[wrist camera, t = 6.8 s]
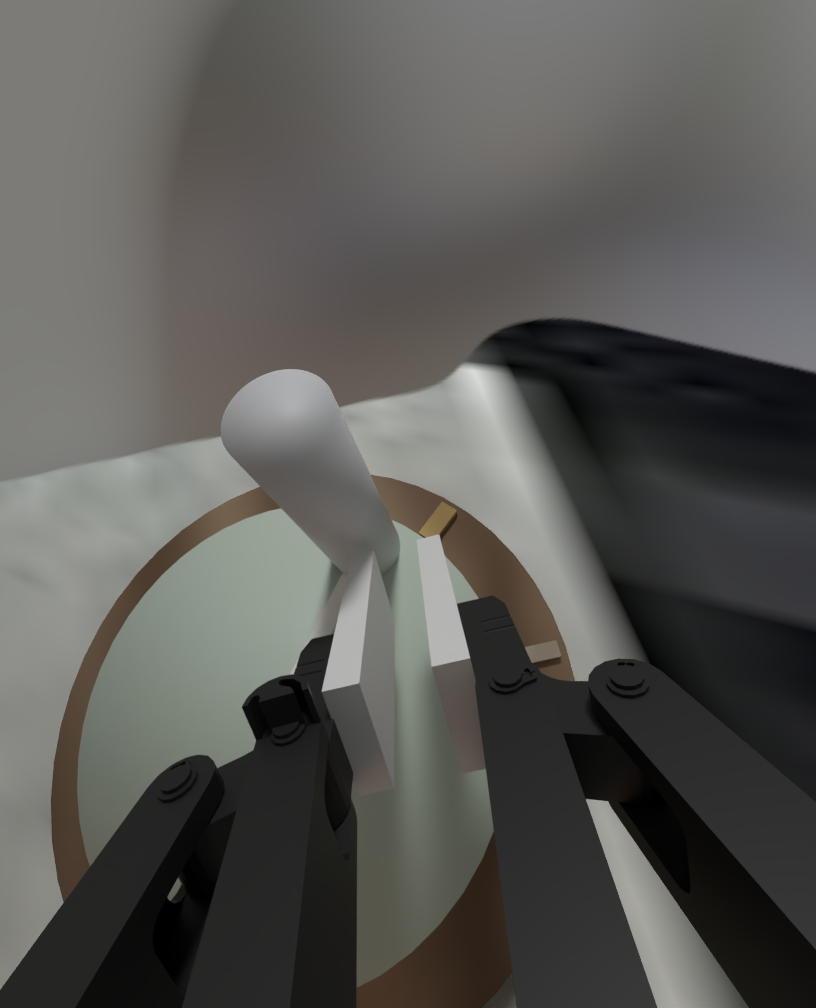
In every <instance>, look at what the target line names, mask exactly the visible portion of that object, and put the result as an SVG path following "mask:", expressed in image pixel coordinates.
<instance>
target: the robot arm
mask: <svg viewBox="0 0 816 1008" xmlns="http://www.w3.org/2000/svg"><path fill="white" fill-rule="evenodd" d="M417 548H418V556H419V565H420V573H421V581H422V590H423V598H424V607H425V615H426V624H427V632H428V641H429V649H430V657H431V666H432V670H433V674H434V677H435V681H436V685H437V688H438V692H439V696H440V699H441V703H442V706H443V710H444V714H445V717H446V721H447V725H448V728H449V732H450V736H451V739H452V743H453V746H454V750H455V754H456V757H457V761H458V765H459V768H460V772H461V774H464V773H469V772H473V771H478V770H483V769H486V775H487V782H488V790H489V798H490V805H491V813H492V821H493V828H494V836H495V843H496V851H497V859H498V866H499V874H500V882H501V889H502V897H503V905H504V912H505V920H506V927H507V935H508V943H509V950H510V958H511V966H512V973H513V981H514V989H515V996H516V1004H517V1008H657V1005H656V1003H655V1000H654V997H653V994H652V991H651V988H650V985H649V982H648V979H647V976H646V973H645V971H644V968H643V965H642V962H641V959H640V956H639V953H638V950H637V947H636V944H635V941H634V939H633V936H632V933H631V930H630V927H629V924H628V921H627V918H626V915H625V912H624V909H623V907H622V904H621V901H620V898H619V895H618V892H617V889H616V886H615V883H614V880H613V877H612V875H611V872H610V869H609V866H608V863H607V860H606V857H605V854H604V851H603V848H602V845H601V843H600V840H599V837H598V834H597V831H596V828H595V825H594V822H593V819H592V816H591V813H590V811H589V808H588V805H587V802H586V799H594V800H603V801H609V804H610V806H611V807H612V809H613V810H614V812H615V813H616V815H617V816H618V818H619V819H620V821H621V822H622V823H623V825H624V826H625V828H626V829H627V831H628V832H629V834H630V835H631V837H632V838H633V839H634V841H635V842H636V844H637V845H638V847H639V848H640V850H641V851H642V853H643V854H644V855H645V857H646V858H647V860H648V861H649V863H650V864H651V866H652V867H653V869H654V870H655V871H656V873H657V874H658V876H659V877H660V879H661V880H662V882H663V883H664V885H665V886H666V887H667V889H668V890H669V892H670V893H671V895H672V896H673V898H674V899H675V901H676V902H677V903H678V905H679V906H680V908H681V909H682V911H683V912H684V914H685V915H686V917H687V918H688V920H689V921H690V922H691V924H692V925H693V927H694V928H695V930H696V931H697V933H698V934H699V936H700V937H701V938H702V940H703V941H704V943H705V944H706V946H707V947H708V949H709V950H710V952H711V953H712V954H713V956H714V957H715V959H716V960H717V962H718V963H719V965H720V966H721V968H722V969H723V970H724V972H725V973H726V975H727V976H728V978H729V979H730V981H731V982H732V984H733V985H734V986H735V988H736V989H737V991H738V992H739V994H740V995H741V997H742V998H743V1000H744V1001H745V1002H746V1004H747V1005H748V1007H749V1008H816V802H815V801H814V800H812V799H811V798H810V797H809V796H808V795H807V794H805V793H804V792H803V791H802V790H801V789H799V788H798V787H797V786H796V785H795V784H794V783H792V782H791V781H790V780H789V779H788V778H786V777H785V776H784V775H783V774H782V773H781V772H779V771H778V770H777V769H776V768H775V767H774V766H772V765H771V764H770V763H769V762H768V761H766V760H765V759H764V758H763V757H762V756H761V755H759V754H758V753H757V752H756V751H755V750H754V749H752V748H751V747H750V746H749V745H748V744H746V743H745V742H744V741H743V740H742V739H741V738H739V737H738V736H737V735H736V734H735V733H734V732H732V731H731V730H730V729H729V728H728V727H726V726H725V725H724V724H723V723H722V722H721V721H719V720H718V719H717V718H716V717H715V716H713V715H712V714H711V713H710V712H709V711H708V710H706V709H705V708H704V707H703V706H702V705H701V704H699V703H698V702H697V701H696V700H695V699H693V698H692V697H691V696H690V695H689V694H688V693H686V692H685V691H684V690H683V689H682V688H681V687H679V686H678V685H677V684H676V683H675V682H673V681H672V680H671V679H670V678H669V677H668V676H666V675H665V674H664V673H663V672H662V671H660V670H659V669H657V668H655V667H654V666H652V665H650V664H649V663H645V662H642V661H638V660H635V659H615V660H610V661H605V662H604V663H602V664H600V665H598V666H596V667H595V668H594V669H593V671H592V672H591V673H590V675H589V680H588V681H564V680H558V679H554V678H551V677H548V676H546V675H544V674H542V673H541V672H540V670H539V669H538V667H536V666H534V665H533V664H532V662H531V660H530V658H529V656H528V653H527V651H526V649H525V647H524V645H523V642H522V640H521V638H520V636H519V633H518V631H517V629H516V627H515V625H514V622H513V620H512V618H511V616H510V613H509V611H508V609H507V607H506V604H505V603H504V602H502V601H501V600H499V599H498V598H496V597H495V596H493V595H492V596H488V597H483V598H479V599H475V600H471V601H466V602H462V603H458V604H457V603H456V599H455V595H454V591H453V587H452V583H451V579H450V575H449V571H448V567H447V563H446V559H445V555H444V551H443V548H442V544H441V540H440V536H439V534H438V535H434V536H430V537H426V538H422V539H418V540H417ZM242 709H243V711H244V714H245V716H246V718H247V721H248V723H249V725H250V727H251V730H252V732H253V734H254V737H255V739H256V742H255V746H254V750H253V751H251V752H249V753H247V754H245V755H244V756H242V757H240V758H238V759H236V760H233V761H231V762H229V763H227V764H225V765H223V766H221V767H219V768H217V767H216V765H215V762H214V761H213V760H212V759H211V758H210V757H209V756H207V755H194V756H190V757H186V758H184V759H182V760H180V761H178V762H176V763H174V764H172V765H171V766H170V767H168V768H167V769H166V770H164V771H163V772H162V773H160V774H159V775H158V776H157V777H156V779H155V780H154V781H153V782H152V783H151V784H150V785H149V786H148V788H147V789H146V790H145V792H144V793H143V794H142V796H141V797H140V799H139V800H138V801H137V803H136V804H135V805H134V807H133V808H132V810H131V811H130V812H129V814H128V815H127V816H126V818H125V819H124V821H123V822H122V823H121V825H120V826H119V828H118V829H117V830H116V832H115V833H114V834H113V836H112V837H111V839H110V840H109V841H108V843H107V844H106V845H105V847H104V848H103V850H102V851H101V852H100V854H99V855H98V856H97V858H96V859H95V861H94V862H93V863H92V865H91V866H90V867H89V869H88V870H87V872H86V873H85V874H84V876H83V877H82V878H81V880H80V881H79V883H78V884H77V885H76V887H75V888H74V889H73V891H72V892H71V894H70V895H69V896H68V898H67V899H66V900H65V902H64V903H63V905H62V906H61V907H60V909H59V910H58V911H57V913H56V914H55V916H54V917H53V918H52V920H51V921H50V922H49V924H48V925H47V927H46V928H45V929H44V931H43V932H42V933H41V935H40V936H39V938H38V939H37V940H36V942H35V943H34V944H33V946H32V947H31V949H30V950H29V951H28V953H27V954H26V955H25V957H24V958H23V960H22V961H21V962H20V964H19V965H18V966H17V968H16V969H15V971H14V972H13V973H12V975H11V976H10V977H9V979H8V980H7V982H6V983H5V984H4V986H3V987H2V988H1V990H0V1008H356V992H357V815H356V810H355V807H354V804H353V802H352V799H351V792H352V782H353V779H354V782H355V784H356V787H357V790H358V793H359V795H360V796H362V795H366V794H371V793H376V792H380V791H385V790H390V789H394V749H395V620H394V617H393V614H392V610H391V607H390V603H389V600H388V597H387V593H386V590H385V586H384V583H383V579H382V576H381V573H380V569H379V566H378V562H377V559H376V556H375V552H374V550H372V551H368V552H364V553H359V554H355V555H352V556H351V560H350V565H349V569H348V574H347V578H346V583H345V587H344V592H343V596H342V601H341V606H340V610H339V615H338V619H337V624H336V628H335V633H334V634H331V635H326V636H322V637H318V638H314V639H311V640H310V642H309V643H308V644H307V645H306V646H305V648H304V649H303V650H302V651H301V653H300V656H299V659H298V662H297V668H296V669H295V672H294V675H293V674H291V675H284V676H279V677H277V678H274V679H272V680H269V681H267V682H266V683H264V684H263V685H261V686H259V687H258V688H256V689H255V690H254V691H253V692H252V693H251V694H250V695H249V696H248V697H247V699H246V700H245V702H244V704H243V705H242ZM177 878H179V880H180V882H181V886H180V888H179V890H178V892H177V893H176V895H175V896H174V897H173V898H172V900H171V901H170V900H169V899H168V895H169V893H170V891H171V889H172V888H173V886H174V884H175V882H176V880H177Z"/></svg>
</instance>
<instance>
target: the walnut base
mask: <svg viewBox="0 0 816 1008" xmlns="http://www.w3.org/2000/svg"><path fill="white" fill-rule="evenodd" d="M371 477H372V479H373V481H374V484H375V486H376V488H377V490H378V492H379V494H380V496H381V499H382V501H383V503H384V505H385V507H386V509H387V511H388V513H389V516H390V518H391V520H393V521H395V522H397V523H400V524H402V525H404V526H406V527H407V528H409V529H410V530H412V531H414V532H415V533H417V534H418V535H420V536H422V537H423V538H426V537H430V536H434V535H438V534H439V536H440V540H441V544H442V548H443V551H444V555H445V556H446V557H447V558H448V560H449V561H450V562H451V563H452V564H453V565H454V566H455V567H456V568H457V569H458V570H459V571H460V573H461V574H462V575H463V576H464V578H465V579H466V581H467V582H468V584H469V585H470V586H471V588H472V589H473V591H474V592H475V594H476V595H477V597H478V598H483V597H488V596H492V595H493V596H495V597H496V598H498V599H499V600H501V601H502V602H504V603H505V604H506V607H507V609H508V611H509V613H510V616H511V618H512V620H513V622H514V625H515V627H516V629H517V631H518V633H519V636H520V638H521V640H522V642H523V645H524V647H525V649H526V651H527V653H528V656H529V658H530V660H531V662H532V664H533V665H534V666H536V667H538V669H539V670H540V672H541V673H542V674H544V675H546V676H548V677H551V678H554V679H558V680H564V681H575V680H574V676H573V672H572V668H571V665H570V661H569V657H568V654H567V650H566V647H565V644H564V642H563V639H562V637H561V634H560V632H559V629H558V627H557V625H556V622H555V620H554V617H553V615H552V612H551V611H550V609H549V607H548V605H547V604H546V602H545V600H544V598H543V596H542V595H541V593H540V591H539V589H538V588H537V586H536V584H535V582H534V581H533V579H532V578H531V577H530V575H529V574H528V573H527V571H526V570H525V569H524V567H523V566H522V565H521V563H520V562H519V561H518V559H517V558H516V557H515V555H514V554H513V553H512V552H511V551H510V550H509V549H508V548H507V547H506V546H505V545H504V544H503V543H502V542H501V541H500V540H499V539H498V537H497V536H496V535H495V534H494V533H493V532H492V531H490V530H489V529H488V528H487V527H485V526H484V525H483V524H482V523H480V522H479V521H478V520H477V519H475V518H474V517H473V516H472V515H470V514H469V513H468V512H466V511H464V510H463V509H461V508H459V507H458V506H456V505H455V504H453V503H451V502H450V501H448V500H446V499H445V498H443V497H441V496H438V495H436V494H434V493H432V492H429V491H427V490H425V489H423V488H420V487H418V486H415V485H412V484H408V483H405V482H402V481H398V480H395V479H392V478H386V477H380V476H374V475H371ZM276 509H281V508H280V507H279V506H278V504H277V503H276V502H275V501H274V500H273V499H272V498H271V497H270V496H269V495H268V494H267V493H266V492H265V491H264V490H263V489H262V488H261V487H259V488H256V489H254V490H251V491H249V492H247V493H244V494H242V495H240V496H238V497H235V498H233V499H231V500H229V501H227V502H226V503H224V504H222V505H220V506H218V507H217V508H215V509H213V510H211V511H210V512H208V513H206V514H205V515H203V516H202V517H201V518H199V519H198V520H196V521H195V522H193V523H192V524H191V525H189V526H188V527H186V528H185V529H184V530H182V531H181V532H180V533H179V534H178V535H176V536H175V537H174V538H173V539H172V540H171V541H170V542H168V543H167V544H166V545H165V546H164V547H163V548H161V549H160V550H159V551H158V552H157V553H156V554H155V556H154V557H153V558H152V559H151V560H150V561H149V562H148V563H147V564H146V565H145V566H144V567H143V568H142V569H141V570H140V571H139V572H138V574H137V575H136V576H135V577H134V579H133V580H132V581H131V583H130V584H129V585H128V586H127V588H126V589H125V590H124V591H123V593H122V594H121V595H120V597H119V598H118V599H117V601H116V602H115V604H114V606H113V607H112V609H111V610H110V612H109V613H108V615H107V617H106V618H105V620H104V621H103V623H102V624H101V626H100V628H99V630H98V632H97V634H96V636H95V637H94V639H93V641H92V643H91V645H90V647H89V649H88V651H87V653H86V655H85V657H84V659H83V662H82V664H81V667H80V669H79V672H78V674H77V677H76V679H75V682H74V684H73V687H72V689H71V693H70V696H69V700H68V703H67V706H66V710H65V713H64V717H63V720H62V724H61V728H60V734H59V739H58V744H57V750H56V755H55V761H54V770H53V783H52V796H51V817H52V843H53V850H54V857H55V864H56V871H57V877H58V883H59V886H60V890H61V894H62V897H63V901H64V902H65V900H66V899H67V898H68V896H69V895H70V894H71V892H72V891H73V889H74V888H75V887H76V885H77V884H78V883H79V881H80V880H81V878H82V877H83V876H84V874H85V873H86V872H87V870H88V869H89V867H90V865H89V862H88V859H87V856H86V853H85V847H84V842H83V837H82V832H81V827H80V822H79V809H78V795H77V778H78V756H79V749H80V742H81V735H82V729H83V724H84V720H85V716H86V712H87V708H88V704H89V700H90V696H91V693H92V690H93V688H94V685H95V682H96V679H97V677H98V674H99V671H100V668H101V666H102V664H103V662H104V660H105V658H106V656H107V654H108V651H109V649H110V647H111V645H112V643H113V641H114V639H115V638H116V636H117V634H118V633H119V631H120V629H121V628H122V626H123V624H124V623H125V621H126V619H127V618H128V616H129V615H130V613H131V612H132V611H133V609H134V608H135V607H136V605H137V604H138V603H139V601H140V600H141V599H142V597H143V596H144V594H145V593H146V592H147V591H148V590H149V589H150V588H151V587H152V586H153V584H154V583H155V582H156V581H157V580H158V579H159V578H160V577H161V576H162V574H164V573H165V572H166V571H167V570H168V569H169V568H170V567H171V566H172V565H173V564H174V563H176V562H177V561H178V560H179V559H180V558H181V557H182V556H184V555H185V554H186V553H188V552H189V551H190V550H192V549H193V548H194V547H196V546H197V545H198V544H200V543H201V542H202V541H204V540H206V539H207V538H209V537H211V536H212V535H214V534H216V533H217V532H219V531H221V530H222V529H224V528H226V527H229V526H231V525H233V524H235V523H237V522H239V521H242V520H244V519H246V518H249V517H252V516H255V515H258V514H261V513H264V512H267V511H271V510H276ZM511 972H512V966H511V958H510V950H509V943H508V935H507V927H506V920H505V912H504V905H503V897H502V889H501V882H500V874H499V866H498V859H497V851H496V843H495V836H494V831H493V834H492V836H491V839H490V841H489V844H488V846H487V849H486V851H485V854H484V856H483V859H482V860H481V862H480V864H479V866H478V868H477V869H476V871H475V873H474V875H473V877H472V878H471V880H470V882H469V884H468V885H467V887H466V889H465V891H464V893H463V894H462V895H461V897H460V898H459V899H458V901H457V902H456V903H455V905H454V906H453V907H452V909H451V910H450V911H449V913H448V914H447V915H446V917H445V918H444V919H443V921H442V922H441V923H440V925H439V926H438V927H437V928H436V929H435V930H434V931H433V932H432V933H431V934H430V935H429V936H428V937H427V938H426V939H425V940H424V941H423V942H422V943H421V944H420V945H419V946H418V947H417V948H416V949H415V950H414V951H413V952H412V953H410V954H409V955H408V956H406V957H405V958H403V959H402V960H401V961H399V962H398V963H397V964H395V965H394V966H393V967H391V968H390V969H389V970H387V971H386V972H385V973H383V974H382V975H380V976H378V977H376V978H375V979H373V980H371V981H369V982H367V983H365V984H363V985H361V986H359V987H357V992H356V1008H482V1007H483V1006H484V1005H485V1004H486V1003H487V1002H488V1001H489V1000H490V999H491V998H492V997H493V996H494V995H495V994H496V993H497V991H498V990H499V989H500V987H501V986H502V984H503V983H504V982H505V980H506V979H507V978H508V976H509V975H510V974H511Z"/></svg>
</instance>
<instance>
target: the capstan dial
mask: <svg viewBox="0 0 816 1008" xmlns="http://www.w3.org/2000/svg"><path fill="white" fill-rule="evenodd" d="M221 437H222V441H223V444H224V446H225V448H226V450H227V451H228V452H229V454H230V455H231V456H232V457H233V458H234V459H235V460H236V461H237V462H238V463H239V464H240V465H241V467H242V468H243V469H244V470H245V471H246V472H247V473H248V474H249V475H250V476H251V477H252V478H253V479H254V480H255V481H256V482H257V483H258V484H259V485H260V487H261V488H262V489H263V490H264V491H265V492H266V493H267V494H268V495H269V496H270V497H271V498H272V499H273V500H274V501H275V502H276V503H277V504H278V506H279V507H280V508H281V509H276V510H271V511H267V512H264V513H261V514H258V515H255V516H252V517H249V518H246V519H244V520H242V521H239V522H237V523H235V524H233V525H231V526H229V527H226V528H224V529H222V530H221V531H219V532H217V533H216V534H214V535H212V536H211V537H209V538H207V539H206V540H204V541H202V542H201V543H200V544H198V545H197V546H196V547H194V548H193V549H192V550H190V551H189V552H188V553H186V554H185V555H184V556H182V557H181V558H180V559H179V560H178V561H177V562H176V563H174V564H173V565H172V566H171V567H170V568H169V569H168V570H167V571H166V572H165V573H164V574H162V576H161V577H160V578H159V579H158V580H157V581H156V582H155V583H154V584H153V586H152V587H151V588H150V589H149V590H148V591H147V592H146V593H145V594H144V596H143V597H142V599H141V600H140V601H139V603H138V604H137V605H136V607H135V608H134V609H133V611H132V612H131V613H130V615H129V616H128V618H127V619H126V621H125V623H124V624H123V626H122V628H121V629H120V631H119V633H118V634H117V636H116V638H115V639H114V641H113V643H112V645H111V647H110V649H109V651H108V654H107V656H106V658H105V660H104V662H103V664H102V666H101V668H100V671H99V674H98V677H97V679H96V682H95V685H94V688H93V690H92V693H91V696H90V700H89V704H88V708H87V712H86V716H85V720H84V724H83V729H82V735H81V742H80V749H79V756H78V778H77V795H78V809H79V822H80V827H81V832H82V837H83V842H84V847H85V853H86V856H87V859H88V862H89V865H90V866H91V865H92V863H93V862H94V861H95V859H96V858H97V856H98V855H99V854H100V852H101V851H102V850H103V848H104V847H105V845H106V844H107V843H108V841H109V840H110V839H111V837H112V836H113V834H114V833H115V832H116V830H117V829H118V828H119V826H120V825H121V823H122V822H123V821H124V819H125V818H126V816H127V815H128V814H129V812H130V811H131V810H132V808H133V807H134V805H135V804H136V803H137V801H138V800H139V799H140V797H141V796H142V794H143V793H144V792H145V790H146V789H147V788H148V786H149V785H150V784H151V783H152V782H153V781H154V780H155V779H156V777H157V776H158V775H159V774H160V773H162V772H163V771H164V770H166V769H167V768H168V767H170V766H171V765H172V764H174V763H176V762H178V761H180V760H182V759H184V758H186V757H190V756H194V755H207V756H209V757H210V758H211V759H212V760H213V761H214V762H215V765H216V767H217V768H219V767H221V766H223V765H225V764H227V763H229V762H231V761H233V760H236V759H238V758H240V757H242V756H244V755H245V754H247V753H249V752H251V751H253V750H254V746H255V742H256V739H255V737H254V734H253V732H252V730H251V727H250V725H249V723H248V721H247V718H246V716H245V714H244V711H243V709H242V705H243V704H244V702H245V700H246V699H247V697H248V696H249V695H250V694H251V693H252V692H253V691H254V690H255V689H256V688H258V687H259V686H261V685H263V684H264V683H266V682H267V681H269V680H272V679H274V678H277V677H279V676H284V675H291V674H293V675H294V672H295V669H296V668H297V662H298V659H299V656H300V653H301V651H302V650H303V649H304V648H305V646H306V645H307V644H308V643H309V642H310V640H311V639H314V638H318V637H322V636H326V635H331V634H334V633H335V628H336V624H337V619H338V615H339V610H340V606H341V601H342V596H343V592H344V587H345V583H346V578H347V574H348V569H349V565H350V560H351V556H352V555H355V554H359V553H364V552H368V551H372V550H374V552H375V556H376V559H377V562H378V566H379V569H380V573H381V576H382V579H383V583H384V586H385V590H386V593H387V597H388V600H389V603H390V607H391V610H392V614H393V617H394V620H395V749H394V789H390V790H385V791H380V792H376V793H371V794H366V795H362V796H360V795H359V793H358V790H357V787H356V784H355V782H354V779H353V782H352V792H351V799H352V802H353V804H354V807H355V810H356V815H357V987H359V986H361V985H363V984H365V983H367V982H369V981H371V980H373V979H375V978H376V977H378V976H380V975H382V974H383V973H385V972H386V971H387V970H389V969H390V968H391V967H393V966H394V965H395V964H397V963H398V962H399V961H401V960H402V959H403V958H405V957H406V956H408V955H409V954H410V953H412V952H413V951H414V950H415V949H416V948H417V947H418V946H419V945H420V944H421V943H422V942H423V941H424V940H425V939H426V938H427V937H428V936H429V935H430V934H431V933H432V932H433V931H434V930H435V929H436V928H437V927H438V926H439V925H440V923H441V922H442V921H443V919H444V918H445V917H446V915H447V914H448V913H449V911H450V910H451V909H452V907H453V906H454V905H455V903H456V902H457V901H458V899H459V898H460V897H461V895H462V894H463V893H464V891H465V889H466V887H467V885H468V884H469V882H470V880H471V878H472V877H473V875H474V873H475V871H476V869H477V868H478V866H479V864H480V862H481V860H482V859H483V856H484V854H485V851H486V849H487V846H488V844H489V841H490V839H491V836H492V834H493V831H494V828H493V821H492V813H491V805H490V798H489V790H488V782H487V775H486V769H483V770H478V771H473V772H469V773H464V774H461V772H460V768H459V765H458V761H457V757H456V754H455V750H454V746H453V743H452V739H451V736H450V732H449V728H448V725H447V721H446V717H445V714H444V710H443V706H442V703H441V699H440V696H439V692H438V688H437V685H436V681H435V677H434V674H433V670H432V666H431V657H430V649H429V641H428V632H427V624H426V615H425V607H424V598H423V590H422V581H421V573H420V565H419V556H418V548H417V540H418V539H422V538H423V537H422V536H420V535H418V534H417V533H415V532H414V531H412V530H410V529H409V528H407V527H406V526H404V525H402V524H400V523H397V522H395V521H393V520H391V518H390V516H389V513H388V511H387V509H386V507H385V505H384V503H383V501H382V499H381V496H380V494H379V492H378V490H377V488H376V486H375V484H374V481H373V479H372V477H371V475H370V473H369V471H368V469H367V466H366V464H365V462H364V460H363V458H362V456H361V454H360V451H359V449H358V447H357V445H356V443H355V441H354V439H353V436H352V434H351V432H350V430H349V428H348V426H347V424H346V421H345V419H344V417H343V415H342V413H341V411H340V409H339V406H338V404H337V402H336V400H335V398H334V396H333V394H332V391H331V389H330V388H329V386H328V385H327V384H326V383H325V382H324V381H323V380H322V379H321V378H320V377H318V376H316V375H315V374H313V373H310V372H307V371H303V370H296V369H285V370H278V371H274V372H271V373H268V374H265V375H263V376H260V377H258V378H257V379H255V380H253V381H251V382H250V383H248V384H247V385H246V386H244V387H243V388H242V389H241V390H240V391H239V392H238V393H237V394H236V395H235V396H234V397H233V399H232V400H231V401H230V403H229V405H228V406H227V408H226V411H225V412H224V415H223V418H222V423H221ZM445 559H446V563H447V567H448V571H449V575H450V579H451V583H452V587H453V591H454V595H455V599H456V603H457V604H458V603H462V602H466V601H471V600H475V599H479V598H478V597H477V595H476V594H475V592H474V591H473V589H472V588H471V586H470V585H469V584H468V582H467V581H466V579H465V578H464V576H463V575H462V574H461V573H460V571H459V570H458V569H457V568H456V567H455V566H454V565H453V564H452V563H451V562H450V561H449V560H448V558H447V557H446V556H445ZM180 886H181V882H180V880H179V878H177V880H176V882H175V884H174V886H173V888H172V889H171V891H170V893H169V895H168V899H169V900H170V901H171V900H172V898H173V897H174V896H175V895H176V893H177V892H178V890H179V888H180Z"/></svg>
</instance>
